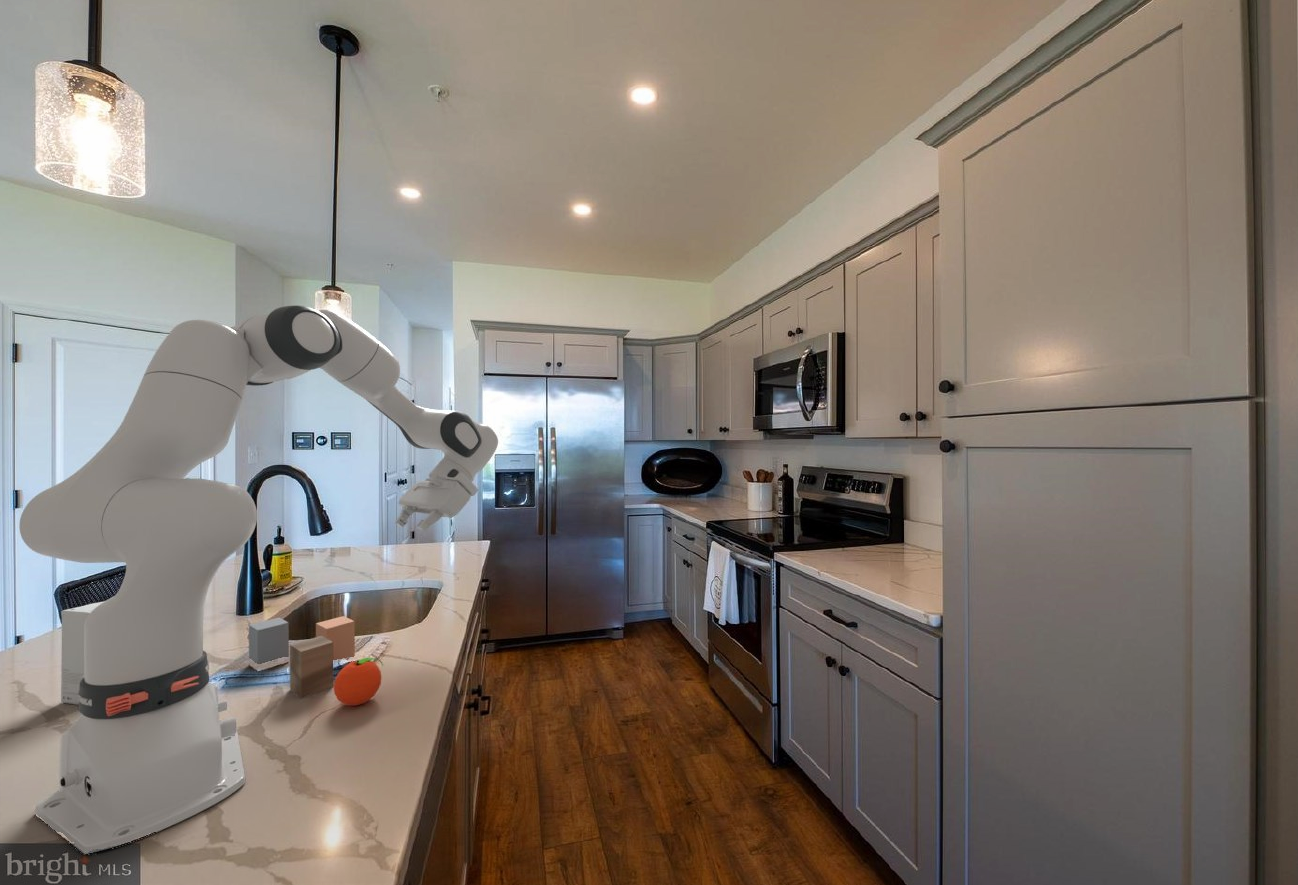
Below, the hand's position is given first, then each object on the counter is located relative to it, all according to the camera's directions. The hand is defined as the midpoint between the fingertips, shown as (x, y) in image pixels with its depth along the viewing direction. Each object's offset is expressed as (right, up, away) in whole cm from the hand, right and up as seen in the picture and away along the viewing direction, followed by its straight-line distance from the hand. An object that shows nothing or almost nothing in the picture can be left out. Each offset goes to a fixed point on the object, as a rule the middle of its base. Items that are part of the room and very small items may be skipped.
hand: (409, 527), depth 111 cm
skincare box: (-42, -25, -24) cm, 55 cm away
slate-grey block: (-22, -25, -13) cm, 35 cm away
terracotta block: (-9, -25, -12) cm, 29 cm away
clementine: (+5, -25, -27) cm, 37 cm away
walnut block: (-6, -25, -23) cm, 34 cm away
